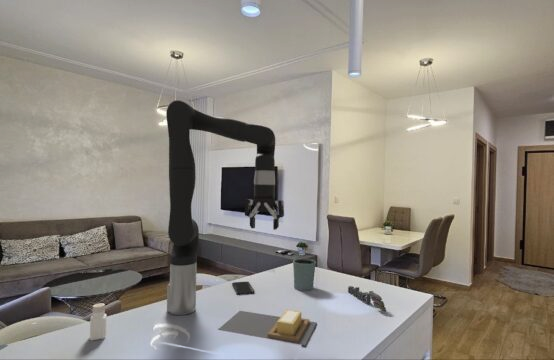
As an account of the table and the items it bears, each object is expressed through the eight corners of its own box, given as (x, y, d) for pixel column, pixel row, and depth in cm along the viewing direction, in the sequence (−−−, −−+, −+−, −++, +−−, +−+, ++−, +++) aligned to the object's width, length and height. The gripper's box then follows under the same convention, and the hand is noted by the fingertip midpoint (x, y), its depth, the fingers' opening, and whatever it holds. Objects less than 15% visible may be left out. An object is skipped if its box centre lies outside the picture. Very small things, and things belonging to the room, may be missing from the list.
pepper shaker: (91, 335, 96) (92, 303, 96) (106, 333, 98) (107, 301, 98) (89, 341, 92) (90, 308, 92) (105, 339, 94) (106, 306, 94)
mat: (217, 331, 100) (217, 326, 100) (239, 312, 115) (239, 307, 115) (305, 346, 91) (305, 341, 91) (316, 324, 106) (316, 319, 106)
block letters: (386, 314, 115) (386, 298, 115) (382, 315, 114) (382, 299, 114) (351, 292, 139) (351, 279, 139) (348, 292, 138) (348, 279, 138)
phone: (248, 281, 150) (255, 291, 135) (248, 283, 149) (255, 294, 135) (231, 282, 147) (236, 293, 133) (231, 285, 147) (236, 295, 133)
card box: (286, 321, 106) (286, 309, 107) (301, 324, 105) (301, 311, 105) (276, 334, 97) (277, 321, 97) (292, 337, 95) (292, 324, 95)
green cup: (288, 285, 146) (289, 259, 146) (308, 283, 150) (308, 257, 150) (299, 292, 137) (300, 264, 137) (319, 289, 141) (320, 262, 141)
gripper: (286, 183, 117) (285, 228, 116) (250, 183, 121) (249, 226, 121) (280, 183, 109) (279, 231, 109) (242, 183, 114) (241, 229, 114)
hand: (263, 228), depth 115 cm, fingers open, 8 cm apart
